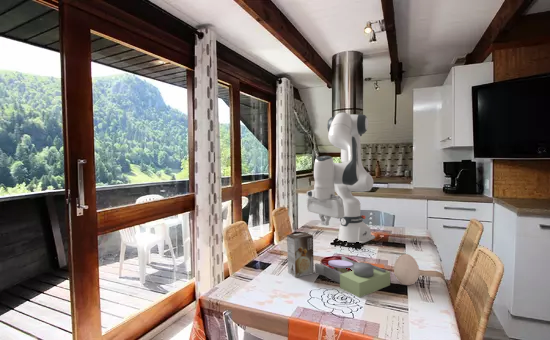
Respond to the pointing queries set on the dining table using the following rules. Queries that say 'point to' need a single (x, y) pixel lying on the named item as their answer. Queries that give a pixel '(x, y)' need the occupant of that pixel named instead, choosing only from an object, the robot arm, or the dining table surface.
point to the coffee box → (300, 254)
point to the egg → (406, 269)
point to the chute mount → (331, 270)
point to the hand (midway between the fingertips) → (325, 224)
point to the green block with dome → (364, 279)
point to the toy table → (340, 265)
